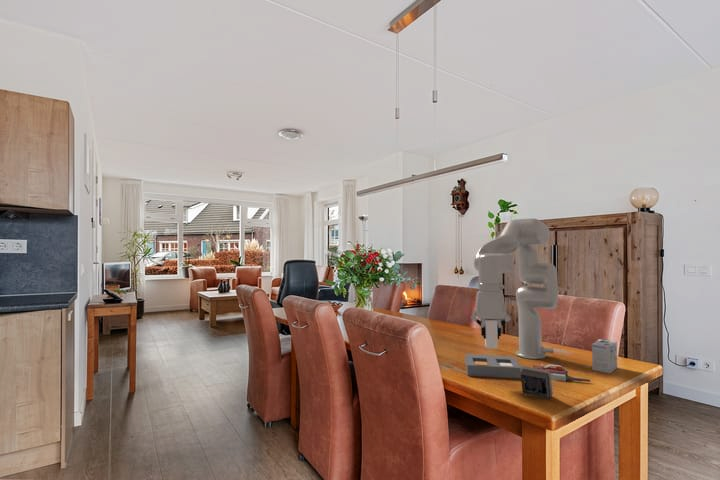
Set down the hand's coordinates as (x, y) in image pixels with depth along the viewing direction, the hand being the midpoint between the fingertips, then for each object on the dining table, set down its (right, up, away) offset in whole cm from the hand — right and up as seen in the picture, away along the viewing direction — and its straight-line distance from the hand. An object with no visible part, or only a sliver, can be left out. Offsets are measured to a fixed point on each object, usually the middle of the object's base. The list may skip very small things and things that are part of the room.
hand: (491, 337), depth 138 cm
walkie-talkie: (+28, -17, +5) cm, 33 cm away
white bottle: (0, -3, 0) cm, 3 cm away
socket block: (+5, -17, +13) cm, 22 cm away
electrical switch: (+10, -16, -13) cm, 23 cm away
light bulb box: (+51, -17, +15) cm, 56 cm away
